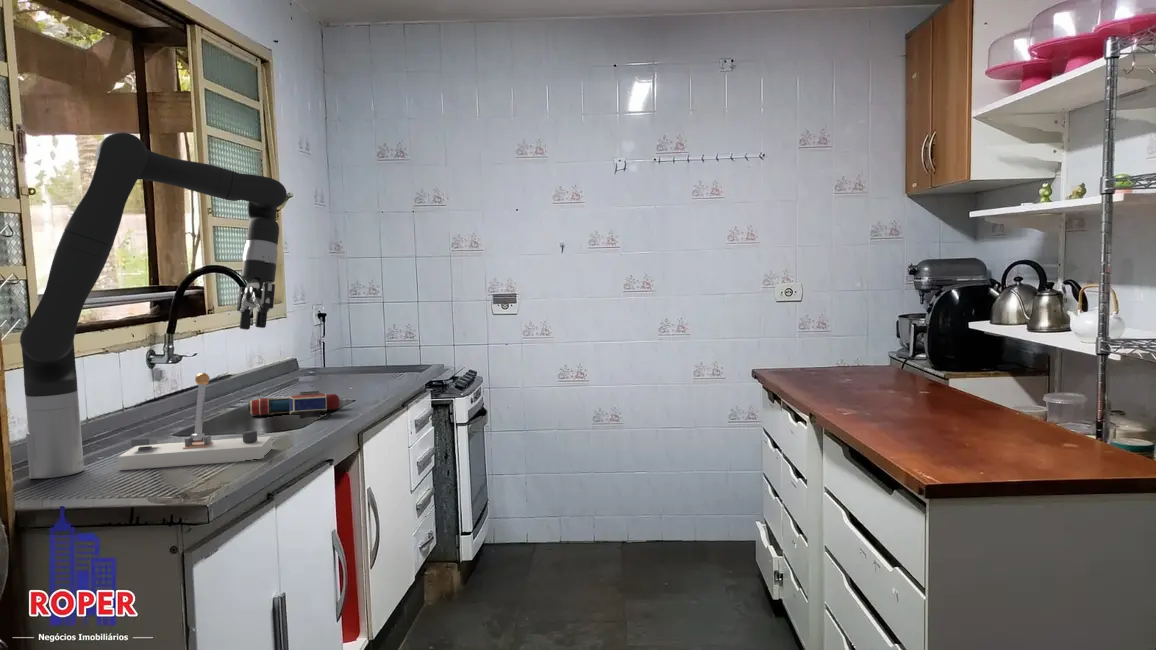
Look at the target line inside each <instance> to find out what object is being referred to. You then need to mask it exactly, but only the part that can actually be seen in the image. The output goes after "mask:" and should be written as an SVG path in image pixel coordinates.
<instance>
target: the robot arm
mask: <svg viewBox="0 0 1156 650" xmlns="http://www.w3.org/2000/svg"><path fill="white" fill-rule="evenodd" d="M94 155H95V161H96V166H95V169H94V171H93V176H92V179H91V181H90V184H89V186H88V188H87V191H86V192H85V194H84V195H83V196H82V198H81V200H80V201H79V203H78V204H77V206H76V207H75V209H74V210H73V212H72V214H71V216H70V218H69V220H68V222H67V224H66V226H65V227H64V230H63V233H62V234H61V237H60V239H59V242H58V244H57V247H56V250H55V252H54V256H53V259H52V262H51V265H50V268H49V274H48V279H47V282H46V286H45V289H44V292H43V295H42V296H41V299H40V301H39V302H38V305H37V307H36V308H35V310H34V312H33V314H32V315H31V317H30V319H29V321H28V322H27V324H26V325H25V327H23V329H22V331H21V333H20V338H19V343H20V347H21V355H22V367H23V386H24V387H23V388H24V395H25V398H24V399H25V407H26V417H27V430H28V431H27V432H26V434H25V438H26V448H27V449H26V452H27V461H28V464H27V465H28V476H29V479H31V480H32V479H52V478H59V477H64V476H65V477H66V476H71V475H74V474H78V473H80V472H82V471H84V469H85V466H84V461H85V460H84V455H83V454H84V452H83V440H82V439H83V438H82V427H81V426H82V425H81V416H80V415H81V414H80V405H79V404H80V402H79V392H78V391H79V388H78V378H77V377H78V376H77V375H78V374H77V367H76V355H75V354H76V353H75V341H74V340H75V335H76V331H77V327H78V323H79V321H80V317H81V313H82V310H83V308H84V305H85V303H86V301H87V299H88V296H90V293H91V292H92V290H93V288H94V286H95V285H96V283H97V281H98V279H99V278H100V276H101V274H102V272H103V270H104V267H105V265H106V263H107V261H108V258H109V256H110V253H111V251H112V248H113V246H114V243H115V241H116V237H117V234H118V232H119V231H118V230H119V228H120V224H121V222H122V218H123V213H124V210H125V207H126V204H127V202H128V199H129V196H130V195H131V193H132V191H133V189H134V187H135V186H136V183H137V181H138V180H141V181H142V180H143V181H150V182H155V183H161V184H165V185H168V186H169V185H170V186H174V187H178V188H182V189H185V190H189V191H192V192H195V193H199V194H203V195H206V196H211V197H214V198H217V199H221V200H226V201H231V202H238V201H245V202H247V215H248V217H247V219H248V226H247V233H246V234H247V235H246V243H245V247H244V249H243V257H242V265H241V273H240V275H241V276H240V277H241V280H243V281H246V286H245V287H243V286H240V287H239V291H238V292H239V293H238V298H237V300H238V301H237V306H236V311H237V312H239V313H240V320H239V329H240V330H250V329H251V320H252V312H253V310H254V309H255V308H256V310H257V311H256V318H255V327H256V328H260V329H265V328H266V327H267V319H268V313H269V312H270V310H272V309H274V304H275V291H276V284H275V281H276V275H277V274H276V273H277V265H278V254H279V253H278V246H279V245H278V244H279V243H278V242H279V235H280V225H279V223H278V222H277V220H276V219H277V209H278V208H280V207H281V206H282V205H284V203H285V202H286V199H287V197H288V192H287V189H286V187H285V186H284V184H283V183H281V182H280V181H278V180H277V179H274V178H271V177H269V176H268V177H267V176H263V175H257V174H251V173H250V174H248V173H241V172H237V171H234V170H231V169H228V168H227V169H226V168H223V167H220V166H218V165H217V166H216V165H212V164H209V163H204V162H203V163H202V162H199V161H198V162H197V161H191V160H186V159H179V158H175V157H171V156H167V155H164V154H160V153H157V152H154V151H152V150H150V149H147V147H146V145H145V144H144V142H143V141H142V140H141V139H140V138H139V137H138V136H136V135H135V134H132V133H129V132H118V133H116V132H115V133H112V134H109V135H108V136H106V137H104V139H102V140H101V142H100V143H99V144H98V145H97V146H96V150H95V154H94Z"/></svg>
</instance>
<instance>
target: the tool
mask: <svg viewBox="0 0 1156 650" xmlns="http://www.w3.org/2000/svg"><path fill="white" fill-rule="evenodd" d="M249 402H250V403H249V404H248V405H247V411H248V413H250V415H251V416H260V417H261V416H265V417H266V416H273V415H279V414H288V413H289V415H299V419H306V418H312V417H313V418H321V413H326V412H327V411H335V410H338V409H339V407H340V397H339V396H338V395H337V394H336V393H335V394H334V393H331V394H327V393H324V392H323V393H321V392H320V390H312V391H311V390H310V391H300V392H299V394H295V395H289V396H288V397H285V398H283V397H282V398H272V397H271V398H269V397H265V398H264V397H263V398H262V397H261V398H259V399H254V400H250V401H249Z"/></svg>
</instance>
